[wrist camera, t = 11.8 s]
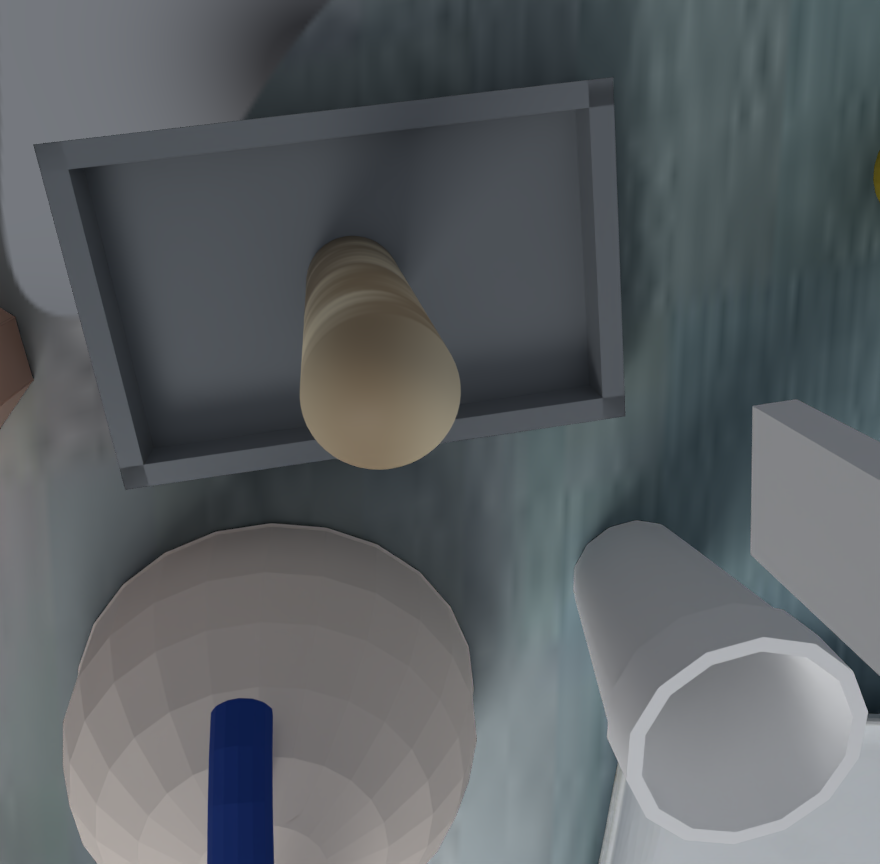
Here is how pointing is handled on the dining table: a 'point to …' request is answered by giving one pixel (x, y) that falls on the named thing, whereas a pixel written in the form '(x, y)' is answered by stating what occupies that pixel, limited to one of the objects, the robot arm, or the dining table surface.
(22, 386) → the pink octagonal cup
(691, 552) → the foam cup
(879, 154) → the lemon
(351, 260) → the peg
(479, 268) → the tray
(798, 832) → the square plate
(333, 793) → the kettle
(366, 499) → the dining table surface
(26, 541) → the dining table surface
